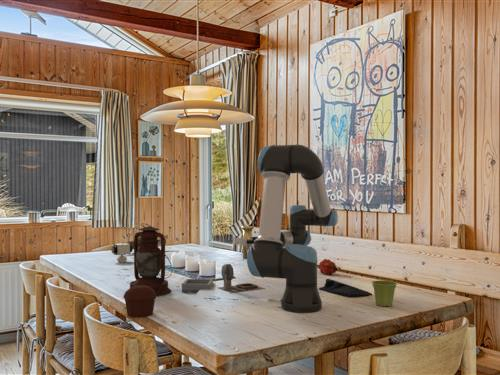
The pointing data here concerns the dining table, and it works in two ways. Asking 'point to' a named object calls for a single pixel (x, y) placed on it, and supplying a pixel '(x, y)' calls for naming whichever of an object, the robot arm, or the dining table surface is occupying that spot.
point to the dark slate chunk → (343, 289)
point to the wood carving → (140, 239)
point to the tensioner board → (228, 276)
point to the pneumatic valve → (121, 251)
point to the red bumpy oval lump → (327, 267)
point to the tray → (196, 284)
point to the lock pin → (246, 235)
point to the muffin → (140, 301)
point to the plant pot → (384, 292)
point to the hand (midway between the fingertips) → (236, 241)
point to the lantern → (150, 261)
